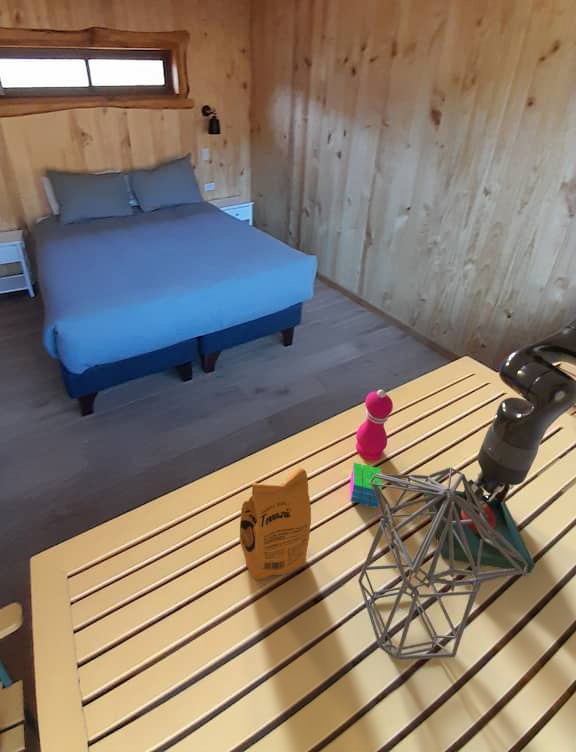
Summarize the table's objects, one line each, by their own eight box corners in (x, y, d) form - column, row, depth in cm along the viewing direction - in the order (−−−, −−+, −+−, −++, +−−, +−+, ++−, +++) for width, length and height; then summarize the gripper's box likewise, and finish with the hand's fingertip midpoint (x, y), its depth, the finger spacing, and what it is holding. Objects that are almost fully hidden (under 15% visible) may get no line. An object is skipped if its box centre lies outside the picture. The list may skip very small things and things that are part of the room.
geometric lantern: (342, 576, 76) (370, 450, 61) (421, 569, 77) (469, 442, 61) (377, 690, 62) (425, 563, 47) (474, 679, 63) (554, 552, 47)
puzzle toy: (377, 508, 88) (381, 491, 86) (350, 501, 90) (353, 484, 87) (376, 484, 93) (380, 468, 90) (350, 478, 95) (353, 462, 92)
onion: (489, 522, 84) (500, 498, 80) (489, 547, 80) (501, 523, 76) (457, 509, 87) (467, 485, 83) (456, 532, 82) (466, 508, 79)
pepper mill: (353, 458, 99) (365, 398, 90) (354, 436, 105) (365, 377, 96) (384, 466, 97) (399, 405, 88) (383, 442, 103) (397, 383, 94)
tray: (498, 505, 88) (502, 497, 87) (530, 573, 76) (535, 565, 75) (423, 494, 91) (425, 486, 89) (442, 558, 79) (445, 550, 78)
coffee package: (235, 534, 84) (235, 463, 74) (290, 519, 86) (297, 449, 76) (250, 587, 75) (252, 515, 65) (311, 569, 78) (322, 497, 68)
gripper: (503, 483, 67) (477, 540, 74) (554, 451, 72) (525, 507, 79) (461, 449, 73) (441, 505, 80) (511, 422, 78) (488, 476, 86)
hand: (483, 506), depth 80 cm, fingers open, 8 cm apart
